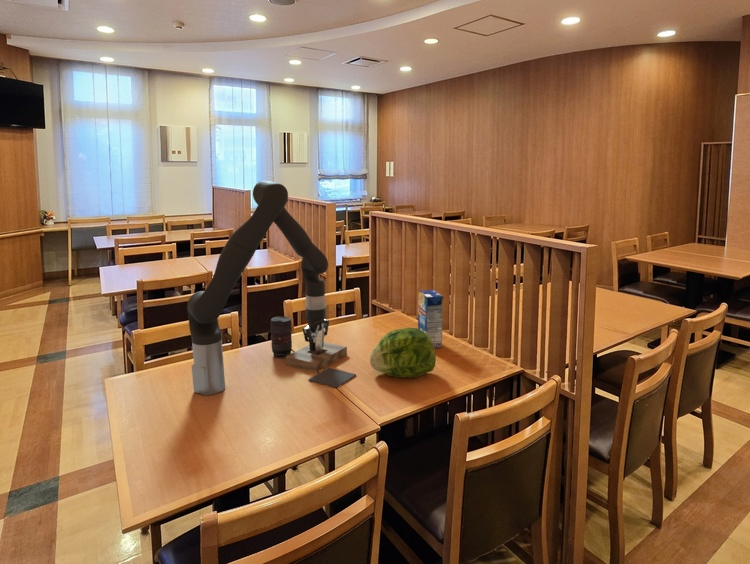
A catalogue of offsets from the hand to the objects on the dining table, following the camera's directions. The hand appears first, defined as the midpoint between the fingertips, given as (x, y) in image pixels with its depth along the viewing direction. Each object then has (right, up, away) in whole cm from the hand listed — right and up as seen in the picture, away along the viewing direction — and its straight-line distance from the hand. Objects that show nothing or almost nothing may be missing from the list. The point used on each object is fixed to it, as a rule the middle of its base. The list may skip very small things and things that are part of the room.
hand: (316, 349), depth 191 cm
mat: (+7, -8, -16) cm, 19 cm away
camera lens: (-14, -3, +6) cm, 16 cm away
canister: (0, -4, +1) cm, 4 cm away
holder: (0, -4, +1) cm, 4 cm away
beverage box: (+45, -1, +18) cm, 49 cm away
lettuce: (+32, -8, -13) cm, 36 cm away
